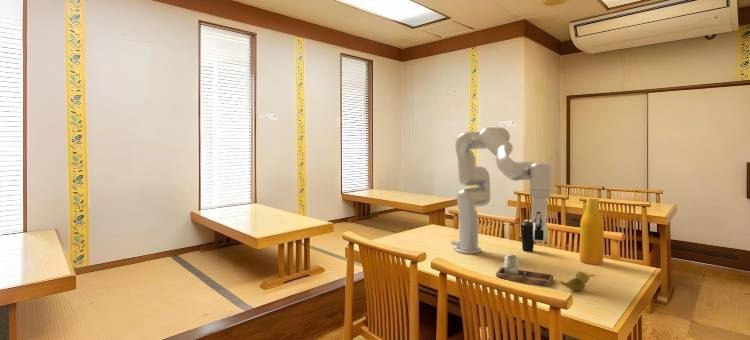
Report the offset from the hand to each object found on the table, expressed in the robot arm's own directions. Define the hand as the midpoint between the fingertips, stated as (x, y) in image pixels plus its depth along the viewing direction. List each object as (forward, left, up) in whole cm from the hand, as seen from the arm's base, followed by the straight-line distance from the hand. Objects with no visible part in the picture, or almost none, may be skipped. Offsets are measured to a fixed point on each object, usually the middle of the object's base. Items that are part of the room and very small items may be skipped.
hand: (539, 237), depth 156 cm
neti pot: (+14, -9, -16) cm, 23 cm away
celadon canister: (0, 0, -1) cm, 1 cm away
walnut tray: (-5, -6, -16) cm, 18 cm away
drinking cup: (-11, +37, -16) cm, 41 cm away
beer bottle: (+17, +31, -16) cm, 39 cm away
